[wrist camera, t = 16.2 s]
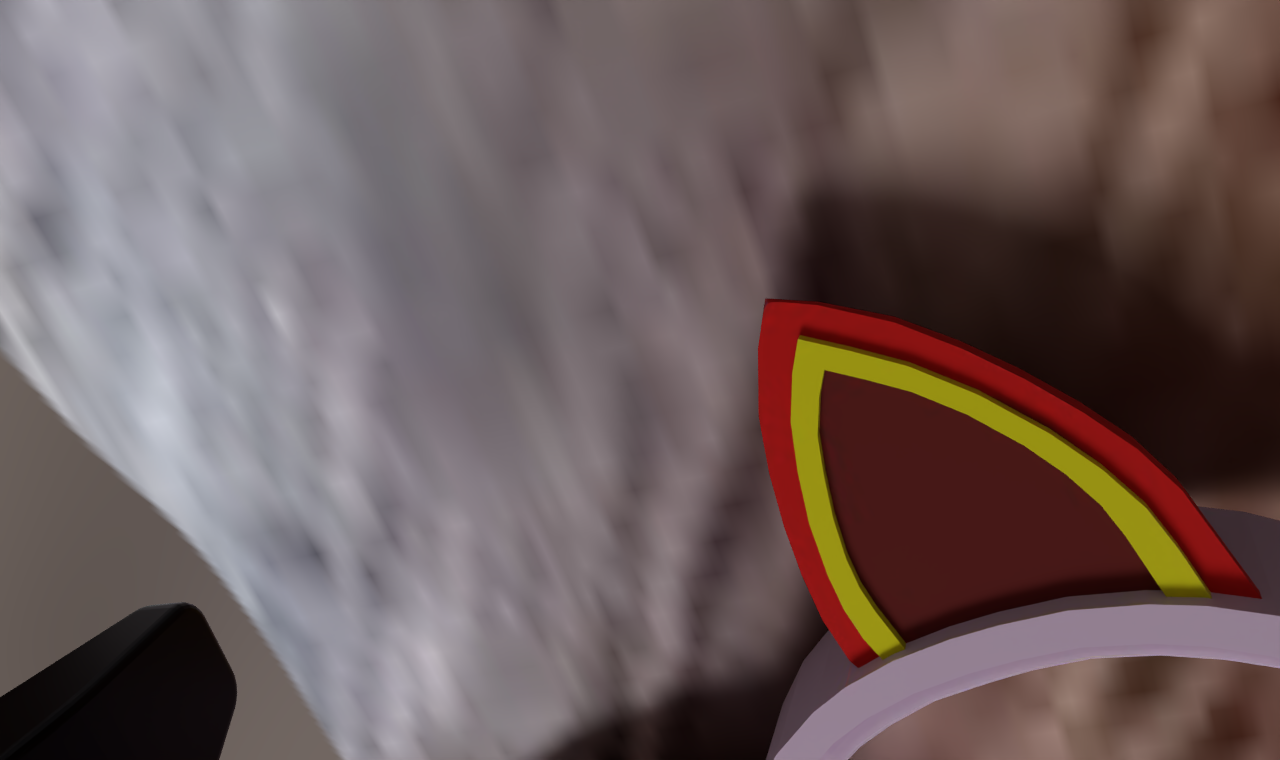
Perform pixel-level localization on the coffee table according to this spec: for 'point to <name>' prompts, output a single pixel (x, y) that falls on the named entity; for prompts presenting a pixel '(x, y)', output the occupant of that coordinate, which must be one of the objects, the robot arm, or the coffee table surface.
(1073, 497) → the headphones
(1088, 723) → the coffee table surface
